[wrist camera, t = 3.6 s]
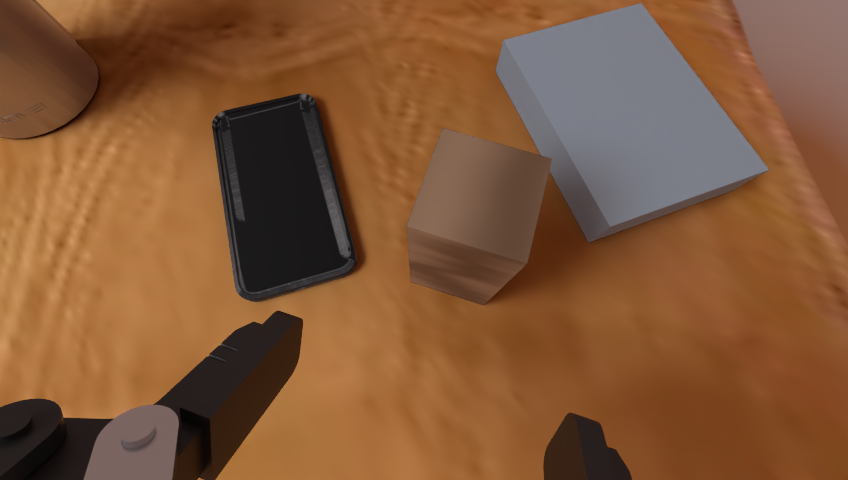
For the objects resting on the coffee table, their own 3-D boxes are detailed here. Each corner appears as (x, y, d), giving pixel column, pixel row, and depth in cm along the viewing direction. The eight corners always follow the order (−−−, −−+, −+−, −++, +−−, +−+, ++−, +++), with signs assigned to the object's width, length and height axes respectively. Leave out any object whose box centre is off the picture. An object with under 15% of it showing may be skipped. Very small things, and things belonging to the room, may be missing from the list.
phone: (312, 90, 28) (359, 269, 24) (316, 100, 29) (361, 273, 25) (208, 114, 27) (235, 304, 23) (216, 123, 28) (243, 307, 24)
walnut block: (410, 281, 24) (406, 226, 15) (433, 215, 26) (442, 127, 16) (483, 305, 24) (527, 263, 14) (501, 236, 25) (552, 158, 16)
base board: (495, 70, 30) (503, 40, 27) (621, 35, 32) (641, 2, 29) (588, 242, 25) (610, 226, 22) (731, 190, 27) (769, 169, 24)
